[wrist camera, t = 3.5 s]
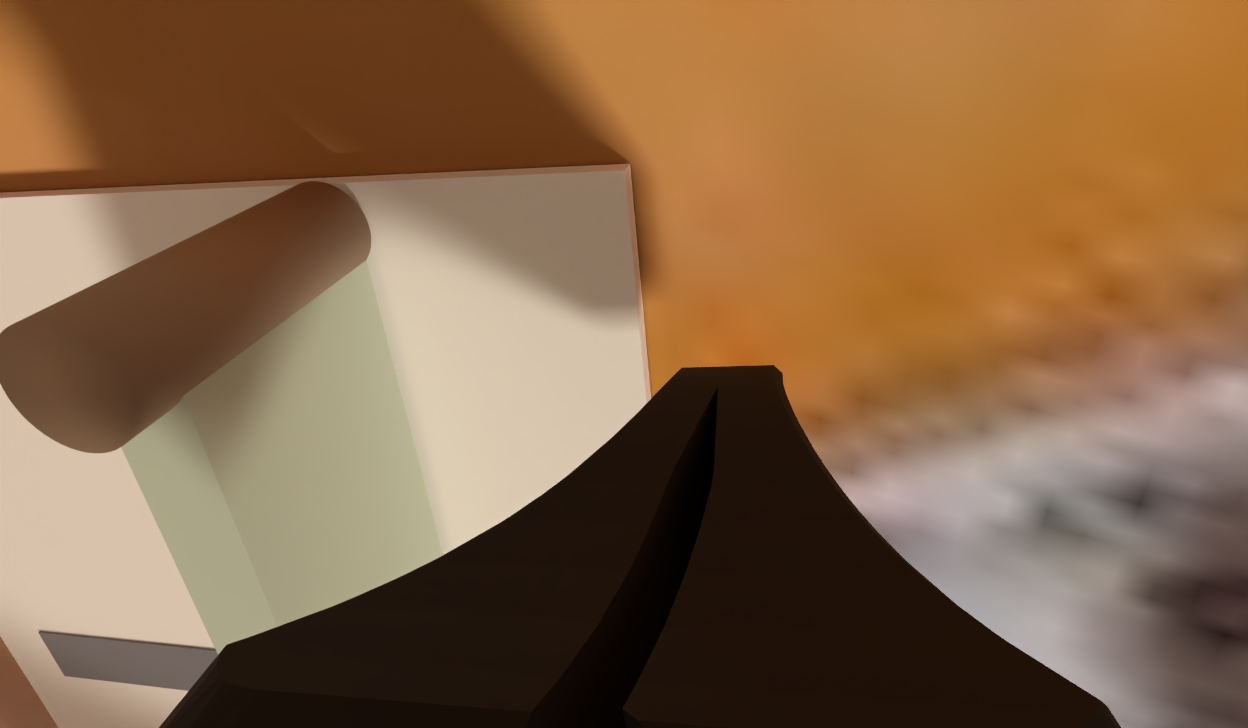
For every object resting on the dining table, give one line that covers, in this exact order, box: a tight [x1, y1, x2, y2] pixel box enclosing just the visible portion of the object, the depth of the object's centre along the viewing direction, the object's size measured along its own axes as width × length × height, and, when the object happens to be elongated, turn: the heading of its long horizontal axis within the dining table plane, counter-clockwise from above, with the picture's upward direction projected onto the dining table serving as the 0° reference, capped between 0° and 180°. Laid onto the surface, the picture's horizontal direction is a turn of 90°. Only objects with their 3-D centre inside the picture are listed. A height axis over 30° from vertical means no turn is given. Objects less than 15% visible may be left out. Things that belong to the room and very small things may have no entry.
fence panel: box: [0, 181, 443, 654], centre depth 13 cm, size 11×2×5 cm, turn 6°
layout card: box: [0, 164, 651, 728], centre depth 19 cm, size 22×18×1 cm
